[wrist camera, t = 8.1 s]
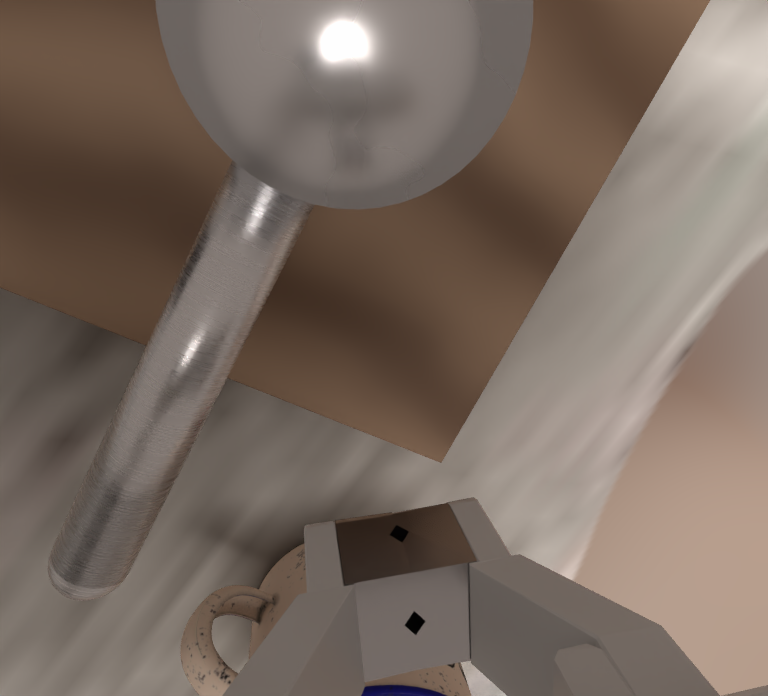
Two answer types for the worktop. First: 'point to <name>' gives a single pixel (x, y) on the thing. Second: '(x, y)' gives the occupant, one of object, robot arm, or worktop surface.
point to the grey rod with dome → (282, 201)
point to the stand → (315, 208)
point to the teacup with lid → (265, 607)
